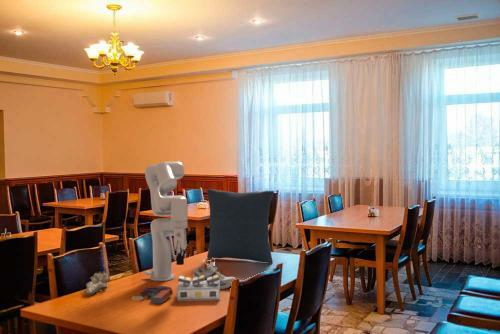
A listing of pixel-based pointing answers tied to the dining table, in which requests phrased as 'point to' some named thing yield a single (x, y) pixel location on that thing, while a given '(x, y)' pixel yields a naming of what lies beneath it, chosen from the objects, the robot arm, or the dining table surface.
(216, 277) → the switch
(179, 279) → the switch
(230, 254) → the pillow
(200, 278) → the switch
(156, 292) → the toy gun
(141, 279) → the dining table surface
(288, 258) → the dining table surface
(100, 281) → the skull
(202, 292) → the switch unit
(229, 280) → the athletic shoe
